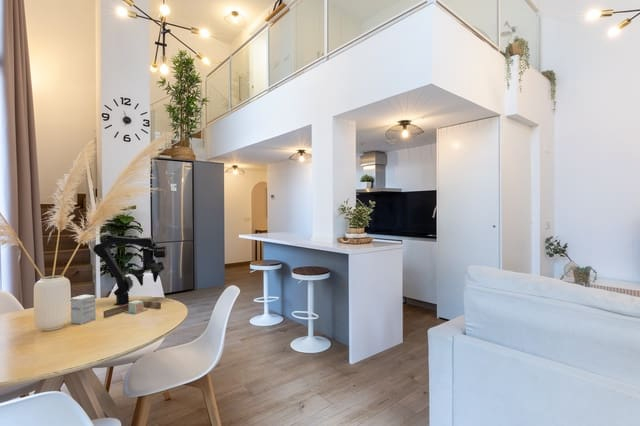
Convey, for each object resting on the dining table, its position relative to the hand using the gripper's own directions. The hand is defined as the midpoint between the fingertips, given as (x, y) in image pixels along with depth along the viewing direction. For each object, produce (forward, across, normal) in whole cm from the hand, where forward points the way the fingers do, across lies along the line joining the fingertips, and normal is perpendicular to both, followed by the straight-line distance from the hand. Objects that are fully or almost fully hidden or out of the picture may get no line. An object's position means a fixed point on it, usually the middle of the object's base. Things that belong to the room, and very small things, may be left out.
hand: (148, 283), depth 188 cm
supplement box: (+11, -36, +2) cm, 38 cm away
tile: (+11, -16, -10) cm, 22 cm away
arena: (+11, -18, -10) cm, 23 cm away
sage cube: (+11, -16, -9) cm, 21 cm away
